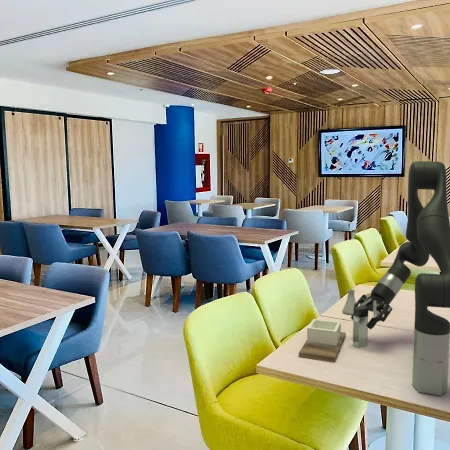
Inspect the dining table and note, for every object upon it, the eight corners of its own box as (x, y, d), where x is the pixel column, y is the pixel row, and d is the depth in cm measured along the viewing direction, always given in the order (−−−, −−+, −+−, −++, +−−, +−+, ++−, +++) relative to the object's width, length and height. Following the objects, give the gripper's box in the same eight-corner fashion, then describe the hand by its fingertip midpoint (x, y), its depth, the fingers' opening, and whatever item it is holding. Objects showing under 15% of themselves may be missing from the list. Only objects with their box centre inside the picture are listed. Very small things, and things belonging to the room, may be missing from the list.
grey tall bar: (367, 346, 159) (368, 308, 158) (358, 348, 158) (359, 309, 156) (361, 343, 162) (362, 305, 160) (352, 345, 161) (353, 307, 159)
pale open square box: (336, 348, 154) (336, 331, 154) (307, 344, 158) (307, 327, 158) (340, 337, 164) (340, 322, 163) (313, 334, 167) (313, 318, 167)
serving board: (334, 362, 147) (335, 357, 147) (298, 356, 152) (298, 352, 151) (345, 336, 169) (345, 332, 169) (313, 332, 174) (313, 328, 173)
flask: (340, 314, 195) (340, 291, 193) (344, 309, 201) (344, 287, 200) (357, 316, 191) (358, 293, 190) (361, 311, 198) (361, 289, 196)
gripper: (368, 277, 167) (342, 311, 164) (395, 287, 154) (367, 324, 151) (379, 289, 170) (353, 323, 167) (407, 300, 157) (380, 336, 154)
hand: (360, 323), depth 159 cm, fingers open, 8 cm apart
